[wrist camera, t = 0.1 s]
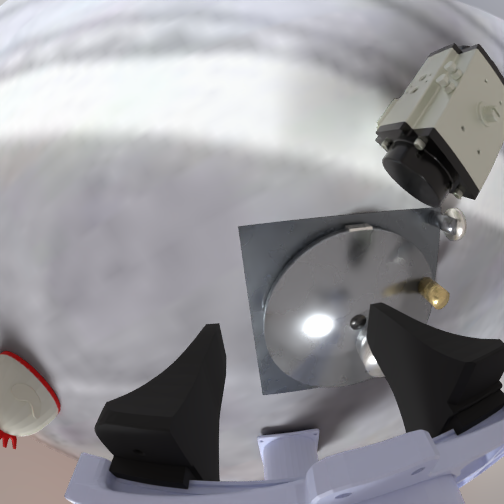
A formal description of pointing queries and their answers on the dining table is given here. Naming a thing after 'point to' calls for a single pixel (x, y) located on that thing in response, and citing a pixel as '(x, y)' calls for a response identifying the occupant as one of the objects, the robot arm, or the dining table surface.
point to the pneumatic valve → (445, 126)
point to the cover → (367, 355)
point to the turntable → (343, 301)
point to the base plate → (296, 239)
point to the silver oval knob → (449, 223)
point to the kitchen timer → (23, 399)
